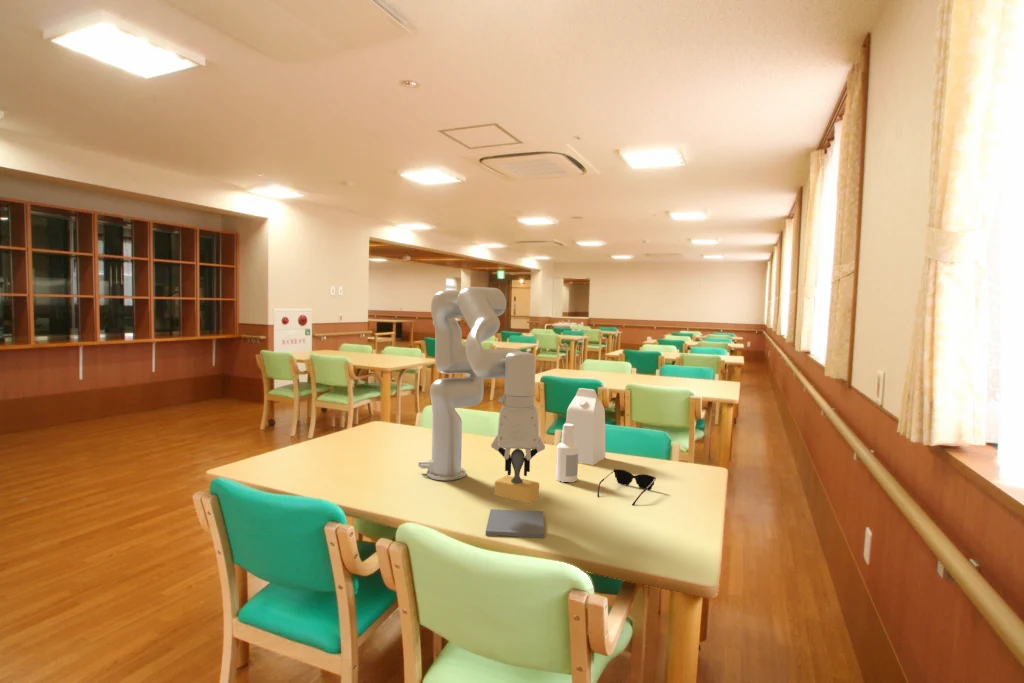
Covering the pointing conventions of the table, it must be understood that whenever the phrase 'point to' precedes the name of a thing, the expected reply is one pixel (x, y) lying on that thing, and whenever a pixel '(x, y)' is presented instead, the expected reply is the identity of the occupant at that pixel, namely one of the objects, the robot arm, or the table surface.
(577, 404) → the milk
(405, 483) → the table surface
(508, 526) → the mat
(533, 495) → the rubber stamp
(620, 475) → the sunglasses
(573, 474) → the spray bottle
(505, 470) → the robot arm
